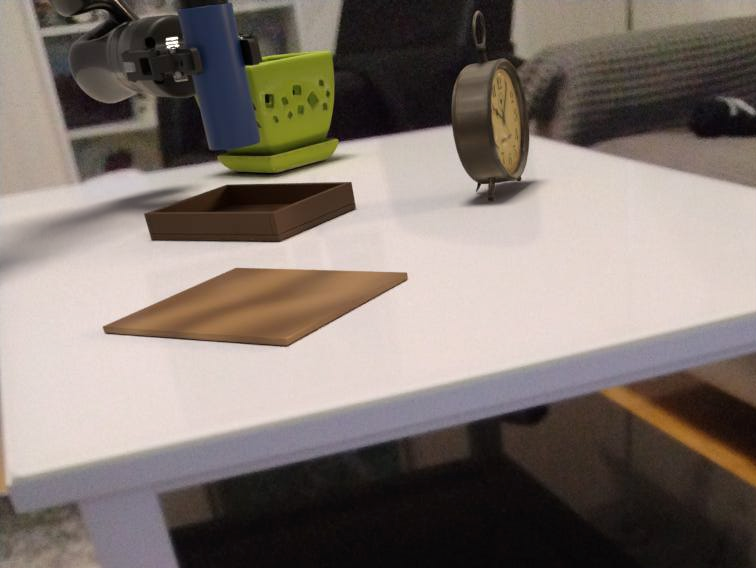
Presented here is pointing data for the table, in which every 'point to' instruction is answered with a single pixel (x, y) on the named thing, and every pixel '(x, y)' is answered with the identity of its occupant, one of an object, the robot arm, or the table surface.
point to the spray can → (219, 73)
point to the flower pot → (288, 113)
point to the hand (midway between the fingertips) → (226, 56)
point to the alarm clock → (490, 119)
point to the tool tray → (251, 212)
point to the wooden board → (258, 305)
